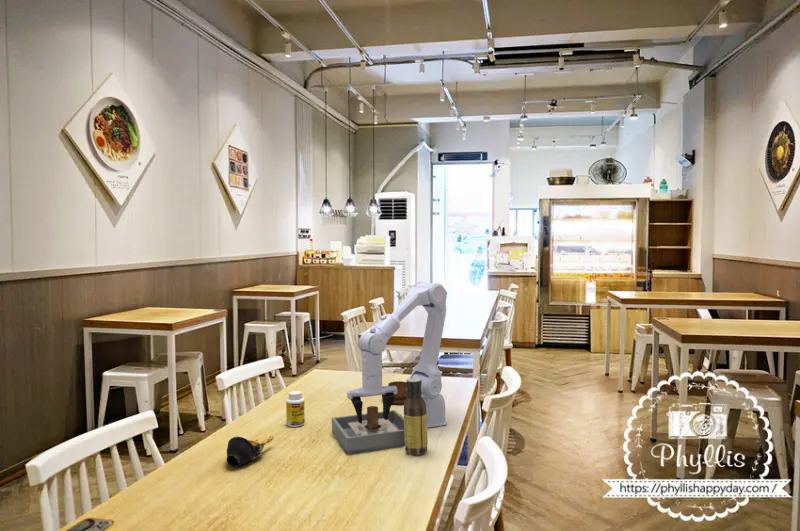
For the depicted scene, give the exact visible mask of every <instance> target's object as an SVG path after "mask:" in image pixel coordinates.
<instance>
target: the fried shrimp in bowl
mask: <svg viewBox="0 0 800 531" xmlns="http://www.w3.org/2000/svg"><path fill="white" fill-rule="evenodd" d="M273 440H274V436H273V435H270V436H269V437H267V438H266V439H264V440H262V441H260V442H259V439H255V440H251V439H250V440H249V439H247V438H245V437H242V436H234V437H231V438H230V439H229V440H228V442H227V446H226V447H227V448H226V458H225V459H226V463H227V464H228V466H230V467H231V468H237V467H239V466H242V465H245V464H247V463H249V461H255V460H256V459H258V458H260V457H261V456H262V451H263V449H264V447H265V445H267V444H269V443H271V442H272V441H273Z"/></svg>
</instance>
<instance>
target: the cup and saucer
mask: <svg viewBox="0 0 800 531" xmlns="http://www.w3.org/2000/svg"><path fill="white" fill-rule="evenodd" d="M406 382H407V381H398V380H397V381H391V382H389V383H387V386H396V387H397V394H394V396H395V400H394V401H393V403H392V404H404V403H405V401H406V399H407V396H408V395H407V393H408V391H407V383H406Z"/></svg>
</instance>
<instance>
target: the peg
mask: <svg viewBox="0 0 800 531" xmlns="http://www.w3.org/2000/svg"><path fill="white" fill-rule="evenodd" d="M378 412H379V407H378V406H376V405H369V406H367V407H366V414H367V429H371V430H374V429H378Z"/></svg>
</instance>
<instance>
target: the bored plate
mask: <svg viewBox="0 0 800 531" xmlns="http://www.w3.org/2000/svg"><path fill="white" fill-rule="evenodd" d="M397 430H398V429H397V428H396V427H395V426H394V425H393V424H392V423H391V422H390V421H389V420H385V419H384V418H380V419H378V429H374V430H371V429H367V420H364V421H362V423H359V422H358V421H356V422H348V423H347V431H348V432H349V434H350V435H351V436H352V437H354V436H361V435H368V434H375V433H383V432H390V431H397Z"/></svg>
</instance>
